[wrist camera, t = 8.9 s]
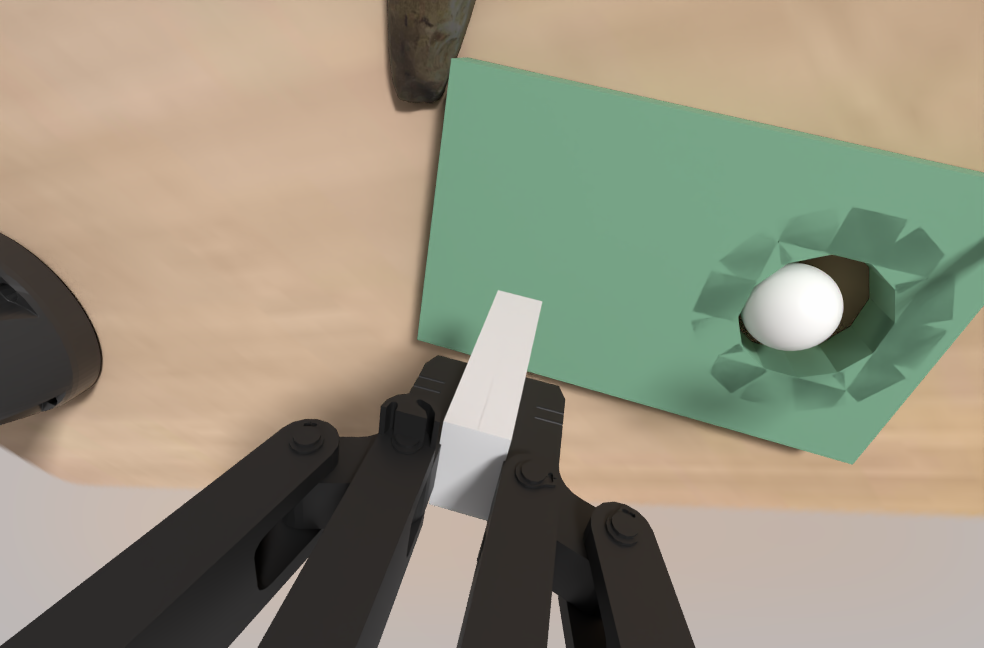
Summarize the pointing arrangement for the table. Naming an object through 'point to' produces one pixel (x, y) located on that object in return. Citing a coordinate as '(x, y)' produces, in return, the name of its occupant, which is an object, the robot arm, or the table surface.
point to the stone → (425, 44)
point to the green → (693, 252)
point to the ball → (793, 308)
